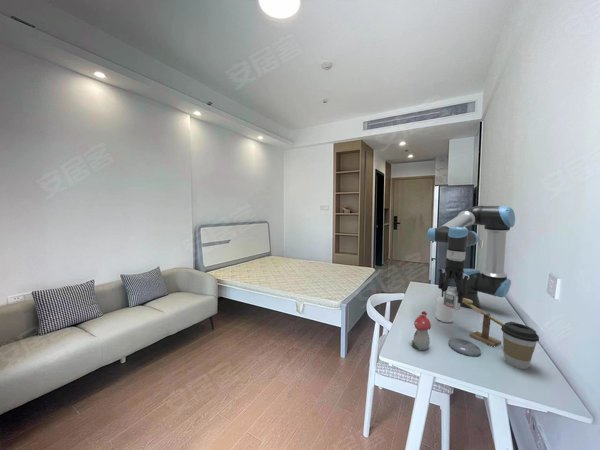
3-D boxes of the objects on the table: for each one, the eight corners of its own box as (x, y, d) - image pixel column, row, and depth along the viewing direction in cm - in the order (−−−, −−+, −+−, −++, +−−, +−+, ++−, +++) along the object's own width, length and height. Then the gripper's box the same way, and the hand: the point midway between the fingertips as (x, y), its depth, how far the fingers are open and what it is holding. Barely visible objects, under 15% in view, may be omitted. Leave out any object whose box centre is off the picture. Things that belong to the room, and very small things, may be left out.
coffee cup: (536, 364, 97) (540, 328, 96) (535, 377, 89) (539, 338, 88) (499, 351, 105) (503, 318, 104) (495, 362, 97) (499, 326, 96)
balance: (460, 325, 127) (463, 297, 126) (523, 353, 104) (527, 318, 103) (452, 328, 124) (455, 298, 123) (515, 357, 101) (519, 321, 100)
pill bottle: (452, 305, 120) (454, 285, 119) (460, 309, 114) (462, 289, 113) (442, 304, 119) (443, 285, 119) (449, 309, 114) (451, 289, 113)
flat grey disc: (457, 338, 115) (458, 336, 115) (486, 352, 104) (486, 349, 104) (442, 344, 109) (442, 341, 109) (470, 359, 99) (471, 356, 99)
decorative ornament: (419, 339, 112) (421, 308, 111) (433, 346, 107) (436, 314, 106) (407, 345, 107) (410, 313, 106) (422, 353, 101) (425, 319, 100)
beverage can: (455, 324, 129) (457, 302, 128) (438, 322, 131) (440, 300, 130) (449, 317, 137) (450, 297, 136) (433, 315, 139) (435, 295, 138)
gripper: (432, 255, 121) (428, 300, 123) (471, 264, 105) (466, 315, 107) (441, 255, 125) (437, 298, 126) (481, 263, 108) (476, 313, 110)
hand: (450, 306), depth 117 cm, fingers closed on pill bottle, 5 cm apart
